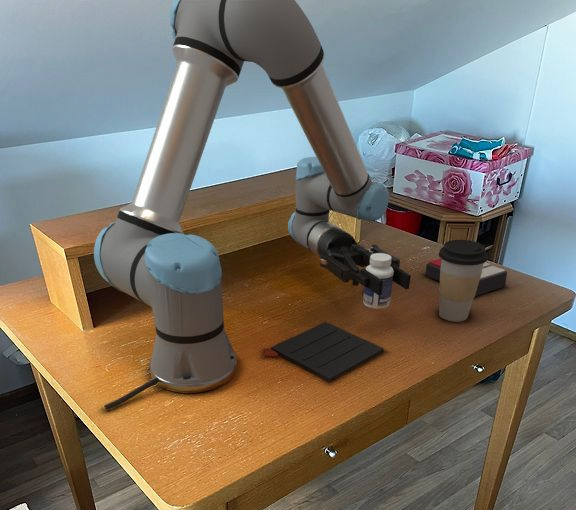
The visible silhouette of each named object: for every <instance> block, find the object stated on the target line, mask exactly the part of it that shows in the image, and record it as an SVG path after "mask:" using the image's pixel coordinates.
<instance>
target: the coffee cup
mask: <svg viewBox="0 0 576 510" xmlns="http://www.w3.org/2000/svg"><path fill="white" fill-rule="evenodd" d="M438 257H439V259H440V258H441V268H440V281H439V289H438V293H439V306H438V307H439V308H438V309H439V310H438V312H439V313H438V316H439V317H440V318H442V319H443V320H445V321H449V322H455V323H460V322H464V321H466V320H467V319H468V318H469V314H470V311H471V308H472V304H473V301H474V299H475V297H476V296H475V294H476V290H477V287H478V284H479V281H480V277H481V274H482V268H483V264H484V263H485V262H486V263H487V262H488V260H489V258H488V252H487V250H486V246H485V245H484V244H482V243H480V242H477V241H475V240H469V239H451V240H447V241H446V242H444V243H443V246H442V247H441V248H440V249H439V252H438Z"/></svg>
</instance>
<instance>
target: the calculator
mask: <svg viewBox="0 0 576 510" xmlns="http://www.w3.org/2000/svg"><path fill="white" fill-rule="evenodd" d="M440 268H441V258H440V257H439V258H437V259H433V260H430V261H429V262H427V263H426V265H425V274H424V275H425V277H428V278H431V279H433V280H435V281H438V282H440ZM507 277H508V271H507V270H505V269H504V268H500V267H498V266H495V265H492V264H491V263H490V262H489V263H488V262H487V261H486V262H485V263H484V264H483V268H482V274H481V277H480V281H479V284H478V287H477V290H476V294H475V297H477V296H481V295H483V294H487V293H490V292H492V291H495V290H499V289H502V288H504V287H506V282H507Z"/></svg>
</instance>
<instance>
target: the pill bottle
mask: <svg viewBox="0 0 576 510" xmlns="http://www.w3.org/2000/svg"><path fill="white" fill-rule="evenodd" d="M370 264H371V265H369V266H366V267H365V269H366V270H367V271H369V272H370V273H372V274H373V275H375V276H376V277H378V278H379V279H381V280H382V281H383V287H382V295H377V294H376V293H374V292H373V291H371V290H370V289H369V288H367V287H366V286H363V296H362V303H363V305H364V306H365V307H366V308H367V307H368V308H371V309H375V310H383V309H386V308H388V307H389V306H390V305H391V300H392V291H393V290H392V289H393V283H394V282H393V274H394V271H393V268H392V267H391V266H390V265H391V256H390V255H388V254H384V253H375V254H372V255H371V256H370Z"/></svg>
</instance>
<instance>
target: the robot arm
mask: <svg viewBox="0 0 576 510" xmlns="http://www.w3.org/2000/svg"><path fill="white" fill-rule="evenodd" d="M169 13H170V14H169V24H170V26H171V28H172V30H171V34H172V38H173V40H174V42H173V44H172V48H171V51H172V54H173V56H174V58H175V60H176V67H175V69H174V73H173V75H172V79H171V82H170V85H169V88H168V91H167V94H166V96H165V97H166V98H165V100H164V103H163V106H162V109H161V112H160V115H159V119H158V122H157V124H156V127H155V131H154V134H153V137H152V138H151V139H152V140H151V141H150V144H149V145H150V146H149V149H148V151H147V154H146V158H145V161H144V164H143V166H142V170H141V172H140V177H139V179H138V182H137V184H136V188H135V191H134V194H133V197H132V200H131V202H130V203H129V204H127V205H124V206H122V207H121V208H119V210H118V214H117V217H116V220H115V221H113V222H111V223H109V224H108V226H105V227H103V228H102V230H100V232H99V233H98V235H97V237H96V240H95V242H94V247H93V259H94V264H95V267H96V269H97V270H98V273H99V274H100V276H101V277H102V279H103V280H105V281H106V282H107V283H108V284H110V286H111V287H113V288H115V290H117V291H119V292H121V293H125V294H127V295H128V296H131V297H132V298H134V299H136V300H138V301H139V302H141V303H143V304H145V305H147V306H149V307H150V308H151V309H152V315H153V320H154V321H153V322H154V329H155V339H154V343H153V348H152V352H151V358H150V362H149V370H150V377H151V379H150V380H149V381H147V382H145V383H143V384H142V385H140V386H138V387H136V388H134V389H133V390H131V391H129V392H128V393H127V394H125V395H123V396H121V397H120V398H117V399H115V400H113V401H111V402H109V403H106V404H104V409H105V410H106V411H109V410H111V409H113V408H115V407H117V406H119V405H121V404H124V403H125V402H127V401H129V400H130V399H132V398H134V397H135V396H137V395H139V394H141V393H143V392H144V391H146V390H147V389H149V388H151V387H153V386H154V385H157V386H158V387H160V388H162V389H165V390H167V391H169V392H174V393H180V394H195V393H197V394H198V393H202V392H207V391H208V392H209V391H212V390H214V389H217V388H220V387H222V386H224V385H226V384H227V383H228V382H230V381H231V380H232V379H233V378H234V377H235V376H236V373H237V370H238V359H237V355H236V354H237V353H235V350H234V348H233V346H232V343H231V341H230V338H229V336H228V334H227V332H226V329H225V320H224V317H225V316H224V300H223V299H224V297H223V281H222V280H223V279H222V278H223V277H222V275H223V269H222V266H221V261H220V256H219V252H218V250H217V248H216V246H215V245H214V244H213V243H211V241H209V240H207V239H205V238H203V237H202V236H199V235H196V234H191V233H189V234H185V233H184V230H183V228H182V225H181V224H180V220H181V217H182V214H183V212H184V209H185V206H186V203H187V200H188V197H189V194H190V191H191V188H192V185H193V182H194V180H195V177H196V174H197V171H198V168H199V165H200V162H201V159H202V158H203V157H202V156H203V153H204V151H205V147H206V146H207V145H206V144H207V142H208V139H209V137H210V133H211V130H212V127H213V125H214V122H215V118H216V115H217V114H218V110H219V107H220V104H221V101H222V98H223V95H224V93H225V90H226V88H227V87H228V86H230V85H233V84H235V83H237V82H238V80H239V77H240V74H241V71H242V70H243V67H244V64H245V62H247V63H248V62H249V63H254V64H256V65H257V66H259V67H260V68H261V69H262V70H263V71H264V72H265V73H266V75H267V76H268V78H269V80H270V82H271V84H272V85H274V86H275V87H276V88H279V89H281V90H282V92H283V94H284V95H285V98H286V101H288V104H289V105H290V107H291V110H292V111H293V114H294V115H295V117H296V120H297V121H298V123H299V125H300V128H301V129H302V132H303V133H304V136H305V137H306V139H307V142H308V143H309V145H310V147H311V149H312V151H313V153H314V155H315V156H310V157H308V156H307V157H303V158H301V159H300V160H298V161H297V163H296V173H295V174H296V175H295V179H294V181H295V210H294V212H293V213H292V214H291V215H290V218H289V220H288V222H287V230H288V234H289V235H290V237H291V238H292V239H293V240H294V241H296V243H297V244H298V245H300V246H302V247H304V248H306V249H307V250H309V251H310V252H311V253H313V254H314V255H316V256H317V257H318V258H319V267H321V268H324V269H326V270H327V271H329V272H330V273H331V274H333V276H335V277H336V278H338V279H339V280H341V282H343V283H349V281H352V282H351V284H352V286H355V287H357V286H359V285H361V286H363V287H364V286H366V287H367V288H369V289H370V290H371V291H373V292H374V293H376V294H377V295H382V287H383V281H382V280H381V279H379V278H378V277H376V276H375V275H373V274H372V273H370V272H369V271H367V270H366V268H367V266H369V265H371V264H370V256H371V255H372V254H375V253H384V254H388V255H390V256H391V265H390V266H391V267H392V268H393V271H394V274H393V282H392V283H395V284H397V285H398V286H400V287H401V288H403V289H405V290H409V289H410V286H411V285H410V284H411V277H412V276H411V274H409V273H408V272H406V271H405V270H404V269H402V268H400V266H401V259H400V258H399V257H396V256H394V255H392V254H390V253H389V252H387V251H385V250H384V249H381V248H380V247H379V246H378V245H377V244H371V247H370V248H365V247H364V246H363V245H360V244H358V243H357V241H356V239H355V237H354V236H353V235H352V234H351V233H349V232H347V231H345V230H344V229H342V228H341V227H339V226H337V225H336V224H334V223H332V222H330V221H329V220H330V211H331V212H335V213H338V214H341V215H346V216H348V217H351V218H355V219H357V220H359V221H361V220H363V221H367V222H377V221H378V220H380V219H381V218H382V217H383V215H384V214H385V213H386V211H387V209H388V206H389V201H390V194H389V190H388V188H387V187H386V186H385V185H384V184H381V183H379V182H378V181H372V179H371V177H370V174H369V172H368V169H367V166H366V164H365V162H364V160H363V158H362V155H361V153H360V150H359V148H358V146H357V143H356V141H355V139H354V136H353V134H352V132H351V129H350V127H349V124H348V122H347V119H346V117H345V115H344V112H343V109H342V108H341V106H340V103H339V100H338V99H337V96H336V93H335V91H334V89H333V87H332V84H331V82H330V80H329V77H328V75H327V72H326V70H325V68H324V65H323V63H324V61H325V52H324V49H323V46H322V44H321V41H320V39H319V36H318V35H317V32H316V30H315V28H314V26H313V25H312V23H311V21H310V20H309V17H308V16H307V15H306V13H305V12H304V10H303V9H302V8H301V6H300V5H299V4H298V2H297V1H296V0H173V1H172V3H171V7H170V12H169ZM359 267H361V268H359Z"/></svg>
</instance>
